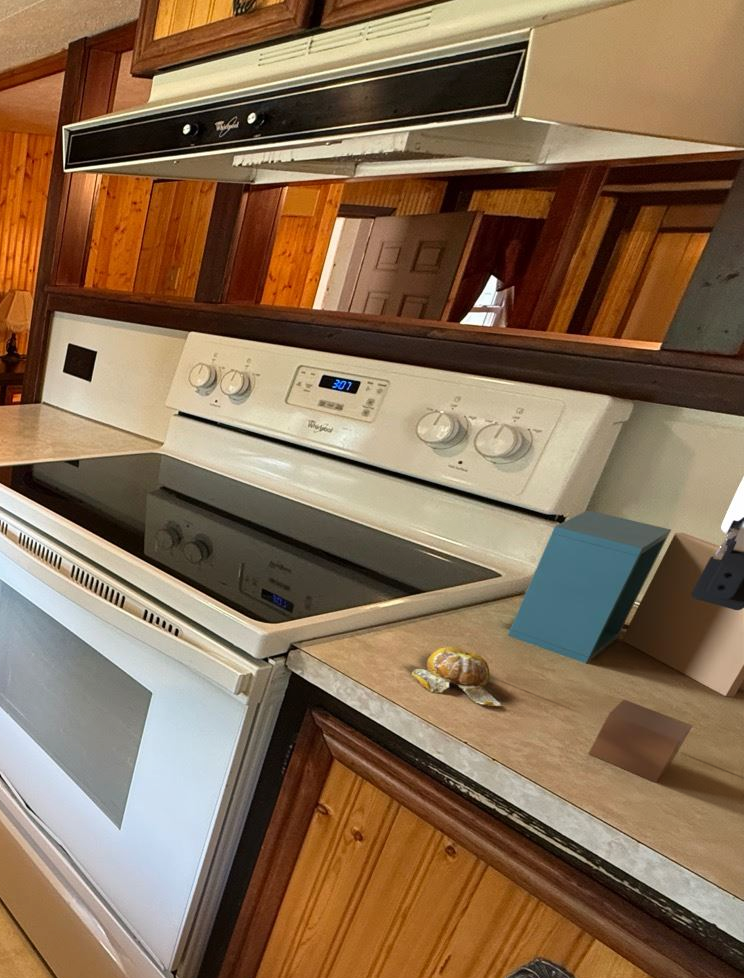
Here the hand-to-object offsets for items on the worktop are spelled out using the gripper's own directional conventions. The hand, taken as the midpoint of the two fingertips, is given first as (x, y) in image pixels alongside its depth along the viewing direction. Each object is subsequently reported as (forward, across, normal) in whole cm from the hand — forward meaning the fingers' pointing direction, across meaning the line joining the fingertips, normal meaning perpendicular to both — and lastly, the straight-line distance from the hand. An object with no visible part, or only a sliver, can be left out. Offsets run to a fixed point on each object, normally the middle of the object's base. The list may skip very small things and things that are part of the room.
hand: (727, 592), depth 68 cm
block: (+19, -2, 0) cm, 19 cm away
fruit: (+19, -2, +16) cm, 25 cm away
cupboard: (+19, +26, +13) cm, 34 cm away
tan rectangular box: (+18, +31, +1) cm, 36 cm away
